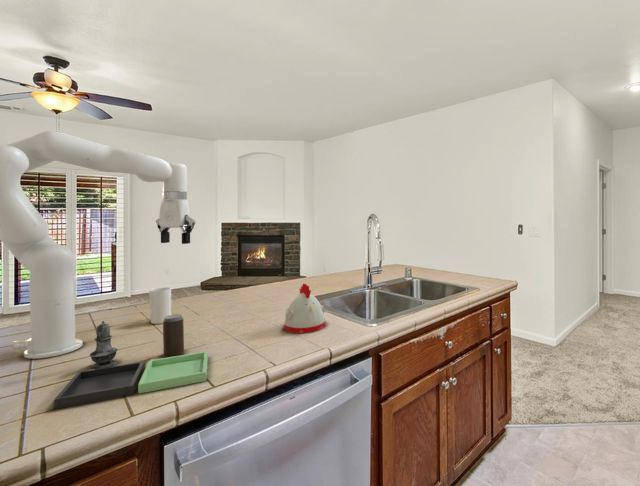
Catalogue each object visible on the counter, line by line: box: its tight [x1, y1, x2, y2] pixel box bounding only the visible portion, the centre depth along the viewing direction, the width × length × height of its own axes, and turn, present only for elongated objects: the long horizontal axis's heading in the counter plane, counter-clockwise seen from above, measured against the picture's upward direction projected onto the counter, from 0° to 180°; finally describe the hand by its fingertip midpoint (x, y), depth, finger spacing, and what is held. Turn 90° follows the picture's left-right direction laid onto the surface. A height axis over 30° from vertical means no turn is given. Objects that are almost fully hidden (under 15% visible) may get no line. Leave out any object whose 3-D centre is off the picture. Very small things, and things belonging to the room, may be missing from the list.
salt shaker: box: [89, 320, 119, 370], centre depth 97 cm, size 6×6×12 cm
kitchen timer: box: [284, 283, 326, 334], centre depth 129 cm, size 14×14×15 cm
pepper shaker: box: [162, 313, 185, 358], centre depth 105 cm, size 5×5×11 cm
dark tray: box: [53, 360, 146, 410], centre depth 86 cm, size 14×15×2 cm
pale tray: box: [137, 350, 209, 394], centre depth 92 cm, size 14×15×2 cm
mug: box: [148, 286, 172, 325], centre depth 136 cm, size 10×7×12 cm, turn 38°
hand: (175, 243), depth 135 cm, fingers open, 9 cm apart
